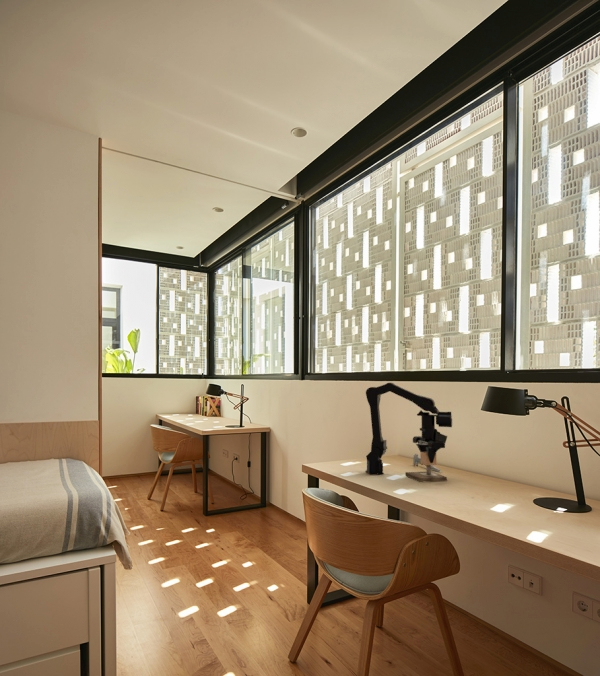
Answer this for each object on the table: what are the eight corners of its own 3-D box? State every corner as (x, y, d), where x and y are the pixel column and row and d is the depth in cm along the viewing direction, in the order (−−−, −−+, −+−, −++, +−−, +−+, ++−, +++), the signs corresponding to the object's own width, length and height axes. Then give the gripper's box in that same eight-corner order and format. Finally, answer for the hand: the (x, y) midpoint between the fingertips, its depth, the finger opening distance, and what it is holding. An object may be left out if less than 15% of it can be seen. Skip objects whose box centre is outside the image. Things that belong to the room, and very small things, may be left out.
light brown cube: (426, 465, 201) (426, 453, 202) (420, 463, 206) (420, 451, 206) (436, 464, 202) (436, 453, 203) (430, 462, 207) (430, 451, 208)
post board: (419, 481, 195) (419, 468, 196) (405, 475, 208) (405, 463, 208) (446, 480, 198) (446, 467, 199) (431, 474, 211) (431, 462, 211)
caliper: (413, 465, 234) (412, 453, 235) (414, 465, 235) (414, 453, 235) (440, 473, 215) (440, 459, 216) (442, 473, 216) (441, 459, 216)
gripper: (455, 428, 198) (456, 465, 197) (433, 424, 216) (434, 457, 215) (432, 428, 196) (432, 465, 194) (412, 424, 214) (412, 458, 212)
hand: (428, 461), depth 204 cm, fingers closed on light brown cube, 5 cm apart
